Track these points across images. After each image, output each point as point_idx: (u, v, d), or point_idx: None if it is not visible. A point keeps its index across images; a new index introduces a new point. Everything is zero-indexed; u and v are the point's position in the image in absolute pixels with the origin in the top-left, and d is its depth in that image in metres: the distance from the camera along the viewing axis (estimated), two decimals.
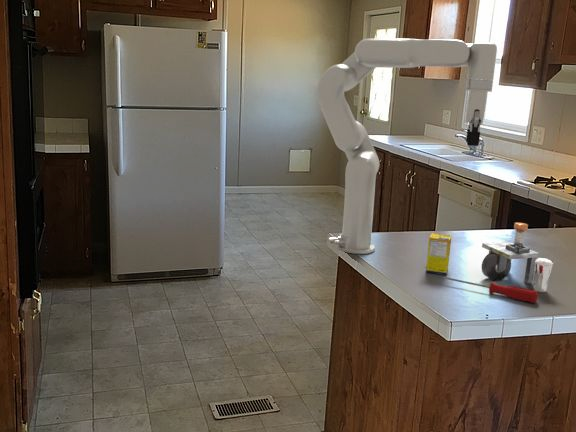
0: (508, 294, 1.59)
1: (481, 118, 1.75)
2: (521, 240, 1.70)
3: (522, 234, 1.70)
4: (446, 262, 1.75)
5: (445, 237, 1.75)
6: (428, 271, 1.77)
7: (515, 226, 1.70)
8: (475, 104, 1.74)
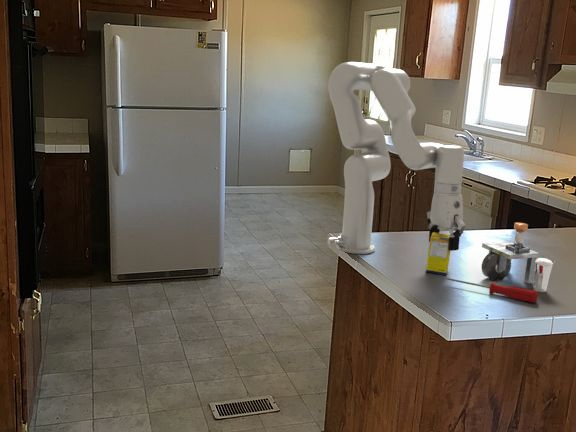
0: (508, 294, 1.59)
1: None
2: (521, 240, 1.70)
3: (522, 234, 1.70)
4: (446, 262, 1.74)
5: (446, 237, 1.75)
6: (428, 271, 1.77)
7: (515, 226, 1.70)
8: None
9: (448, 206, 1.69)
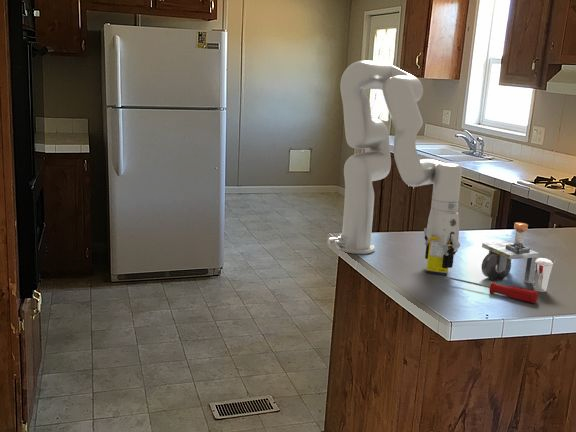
0: (508, 294, 1.59)
1: None
2: (521, 240, 1.70)
3: (522, 234, 1.70)
4: None
5: None
6: (428, 271, 1.77)
7: (515, 226, 1.70)
8: None
9: (444, 223, 1.71)
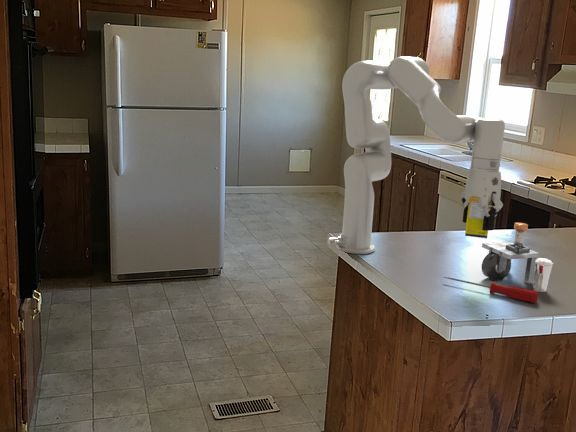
0: (508, 294, 1.59)
1: None
2: (521, 240, 1.70)
3: (522, 234, 1.70)
4: None
5: None
6: (467, 234, 1.66)
7: (515, 226, 1.70)
8: None
9: (486, 182, 1.60)
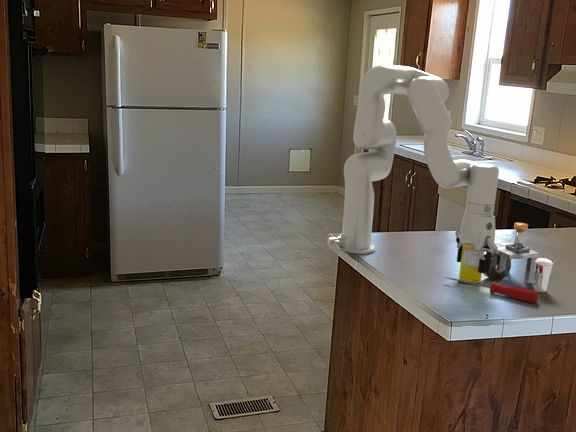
0: (509, 294, 1.59)
1: None
2: (521, 240, 1.70)
3: (522, 234, 1.70)
4: None
5: None
6: None
7: (515, 226, 1.70)
8: None
9: (480, 227, 1.63)
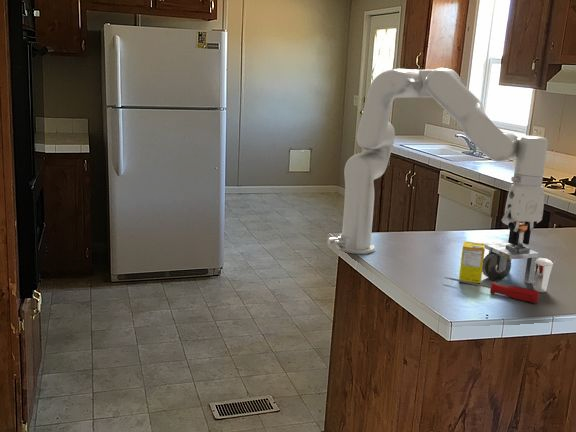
0: (509, 294, 1.59)
1: None
2: (521, 240, 1.70)
3: (522, 234, 1.70)
4: (480, 272, 1.67)
5: (479, 246, 1.68)
6: None
7: None
8: None
9: None
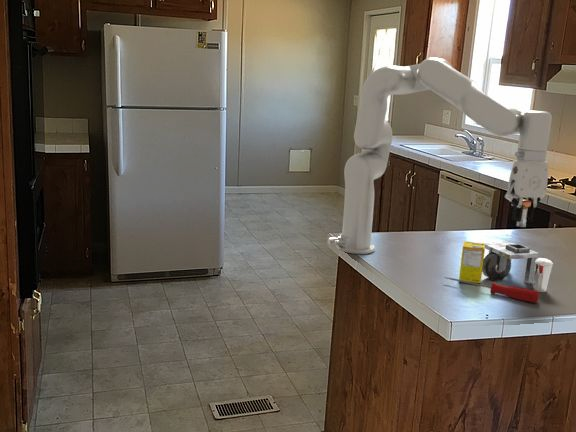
0: (509, 294, 1.59)
1: None
2: (524, 217, 1.69)
3: (525, 210, 1.68)
4: (480, 272, 1.67)
5: (479, 246, 1.68)
6: None
7: None
8: None
9: None
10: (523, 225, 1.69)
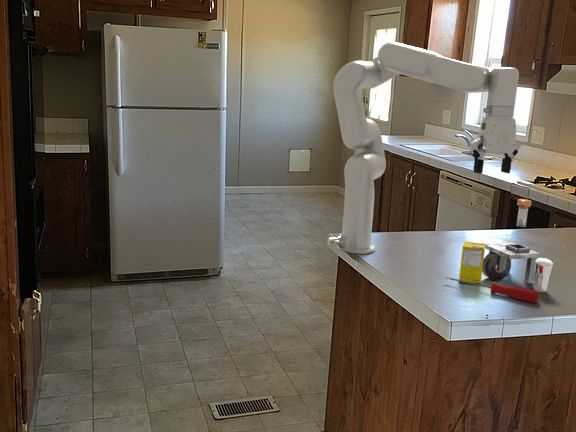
0: (510, 294, 1.59)
1: None
2: (524, 216, 1.69)
3: (525, 210, 1.68)
4: (480, 272, 1.67)
5: (479, 246, 1.68)
6: None
7: (518, 202, 1.69)
8: None
9: None
10: (523, 225, 1.69)
